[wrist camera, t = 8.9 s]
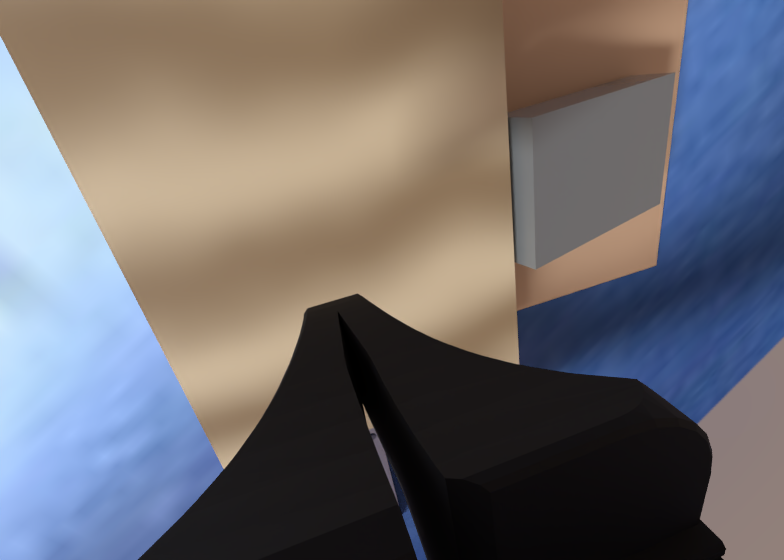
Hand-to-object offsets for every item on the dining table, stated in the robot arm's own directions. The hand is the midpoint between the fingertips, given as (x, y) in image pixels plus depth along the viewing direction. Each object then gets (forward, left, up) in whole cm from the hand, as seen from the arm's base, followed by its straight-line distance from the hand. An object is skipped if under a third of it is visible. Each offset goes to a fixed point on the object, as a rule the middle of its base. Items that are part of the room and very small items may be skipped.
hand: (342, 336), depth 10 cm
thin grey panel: (0, -12, -8) cm, 15 cm away
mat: (0, -14, -10) cm, 17 cm away
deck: (0, -1, -10) cm, 10 cm away
